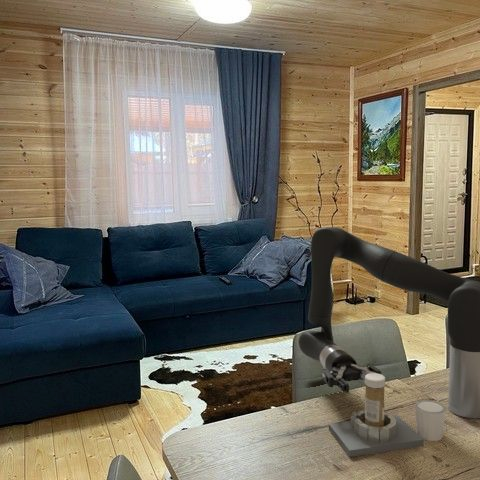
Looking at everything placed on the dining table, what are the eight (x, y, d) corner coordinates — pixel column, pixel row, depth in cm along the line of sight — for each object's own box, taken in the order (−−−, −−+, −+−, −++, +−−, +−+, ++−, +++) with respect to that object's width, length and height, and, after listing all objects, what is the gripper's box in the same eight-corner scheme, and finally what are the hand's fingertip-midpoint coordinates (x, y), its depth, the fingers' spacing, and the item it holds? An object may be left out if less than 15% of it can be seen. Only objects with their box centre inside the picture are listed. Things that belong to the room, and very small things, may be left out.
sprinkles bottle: (388, 431, 112) (389, 377, 111) (375, 438, 110) (376, 382, 108) (373, 423, 116) (374, 370, 114) (360, 429, 114) (360, 375, 112)
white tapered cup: (445, 430, 115) (446, 402, 114) (444, 444, 109) (445, 415, 108) (415, 424, 118) (416, 397, 117) (412, 438, 112) (413, 410, 111)
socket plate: (396, 420, 121) (396, 414, 120) (424, 445, 109) (424, 439, 109) (328, 429, 117) (328, 423, 117) (349, 456, 105) (349, 450, 105)
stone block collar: (383, 418, 118) (383, 407, 118) (403, 439, 109) (403, 426, 109) (347, 423, 117) (347, 411, 116) (365, 444, 107) (365, 432, 107)
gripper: (312, 351, 131) (336, 375, 115) (361, 346, 134) (391, 369, 118) (313, 378, 132) (336, 405, 116) (361, 372, 135) (390, 398, 119)
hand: (364, 387), depth 117 cm, fingers open, 8 cm apart
